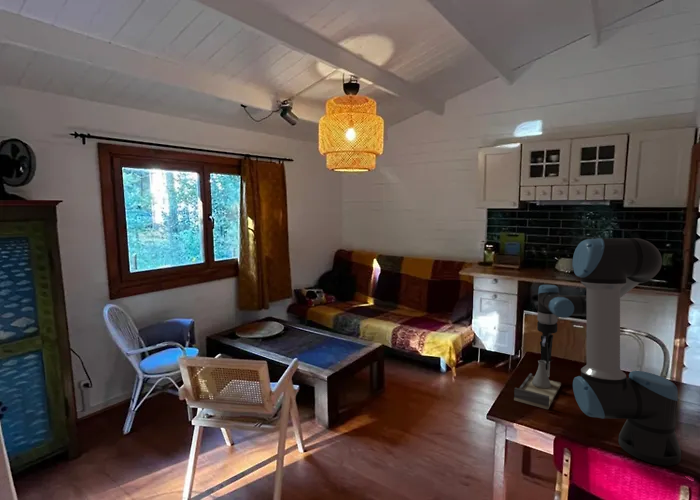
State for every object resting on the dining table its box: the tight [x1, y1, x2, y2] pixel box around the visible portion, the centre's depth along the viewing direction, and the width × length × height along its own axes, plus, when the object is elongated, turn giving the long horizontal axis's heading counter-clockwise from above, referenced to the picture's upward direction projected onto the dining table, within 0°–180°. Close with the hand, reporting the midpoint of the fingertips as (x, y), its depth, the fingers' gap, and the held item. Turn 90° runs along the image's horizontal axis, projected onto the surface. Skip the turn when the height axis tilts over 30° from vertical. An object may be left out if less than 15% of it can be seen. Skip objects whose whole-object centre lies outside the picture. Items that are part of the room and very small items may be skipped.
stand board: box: [513, 372, 562, 410], centre depth 157 cm, size 24×12×5 cm, turn 142°
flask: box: [532, 359, 551, 388], centre depth 160 cm, size 7×7×10 cm
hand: (545, 376), depth 166 cm, fingers closed
